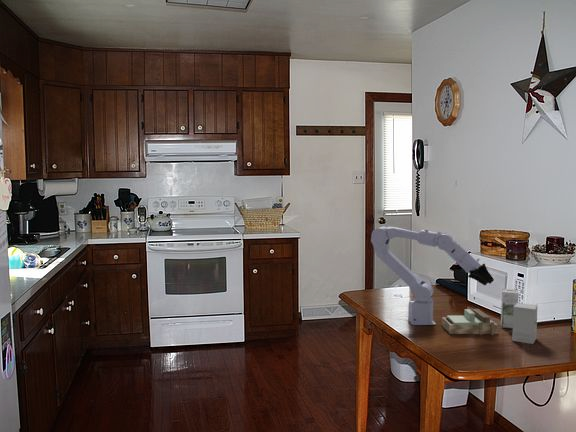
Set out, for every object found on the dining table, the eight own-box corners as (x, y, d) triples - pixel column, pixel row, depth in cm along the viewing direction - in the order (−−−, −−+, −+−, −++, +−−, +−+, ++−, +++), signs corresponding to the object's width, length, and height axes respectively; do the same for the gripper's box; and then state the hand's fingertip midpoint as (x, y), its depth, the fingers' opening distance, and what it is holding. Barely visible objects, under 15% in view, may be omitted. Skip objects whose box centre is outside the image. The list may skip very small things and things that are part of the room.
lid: (454, 324, 201) (454, 314, 201) (446, 317, 210) (447, 308, 210) (492, 324, 201) (493, 314, 201) (483, 317, 211) (483, 307, 210)
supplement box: (534, 344, 189) (535, 309, 188) (511, 340, 193) (512, 306, 192) (536, 338, 195) (538, 304, 194) (515, 335, 199) (516, 302, 198)
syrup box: (516, 325, 212) (517, 289, 211) (517, 329, 206) (518, 292, 205) (500, 323, 214) (501, 288, 212) (501, 328, 208) (502, 291, 207)
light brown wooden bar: (483, 322, 200) (483, 317, 199) (472, 313, 212) (472, 308, 211) (490, 322, 200) (490, 317, 200) (478, 313, 212) (478, 308, 211)
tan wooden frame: (450, 335, 200) (451, 322, 199) (440, 325, 212) (441, 313, 212) (499, 335, 200) (499, 322, 199) (486, 324, 213) (486, 313, 212)
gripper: (473, 247, 201) (501, 273, 198) (465, 253, 215) (491, 277, 212) (460, 260, 201) (488, 286, 198) (453, 265, 215) (479, 289, 212)
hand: (489, 282), depth 205 cm, fingers open, 7 cm apart
